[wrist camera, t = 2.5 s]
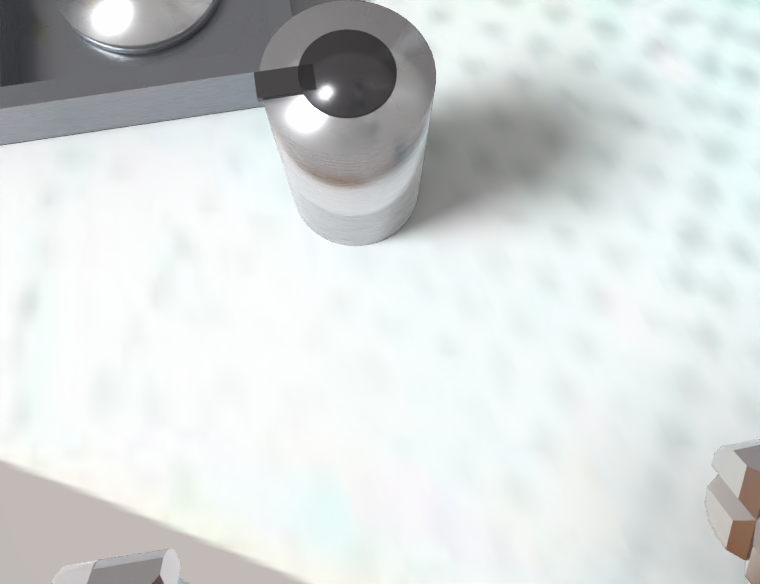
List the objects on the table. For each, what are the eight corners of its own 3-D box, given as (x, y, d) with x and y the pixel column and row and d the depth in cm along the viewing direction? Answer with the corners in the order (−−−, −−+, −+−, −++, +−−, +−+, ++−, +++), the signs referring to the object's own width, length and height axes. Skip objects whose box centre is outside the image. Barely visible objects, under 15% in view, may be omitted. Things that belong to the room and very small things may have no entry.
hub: (406, 121, 27) (418, -15, 20) (429, 234, 26) (452, 137, 18) (283, 140, 27) (245, 10, 19) (299, 255, 26) (266, 166, 18)
